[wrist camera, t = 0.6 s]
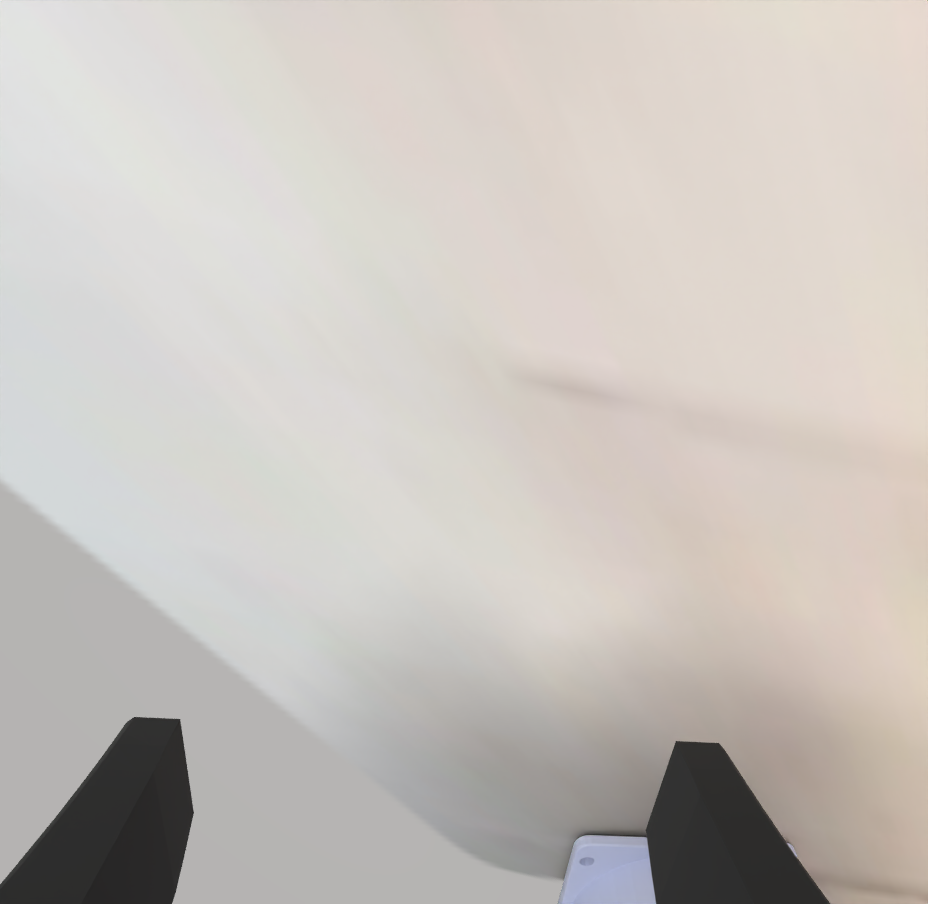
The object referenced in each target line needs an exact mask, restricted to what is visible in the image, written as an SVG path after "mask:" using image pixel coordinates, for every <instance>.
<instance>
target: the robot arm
mask: <svg viewBox="0 0 928 904" xmlns="http://www.w3.org/2000/svg"><path fill="white" fill-rule="evenodd" d="M193 814H194V812H193V805H192V798H191V791H190V785H189V777H188V771H187V764H186V757H185V750H184V743H183V736H182V730H181V724H180V719H165V718H163V719H162V718H142V717H134V718H132V719H131V720H129V721H128V722H127V723H126V724H125V725H124V727H123V728H122V730H121V731H120V733H119V734H118V735H117V737H116V738H115V740H114V741H113V742H112V744H111V745H110V746H109V748H108V749H107V751H106V752H105V753H104V755H103V756H102V758H101V759H100V760H99V762H98V763H97V764H96V766H95V767H94V768H93V770H92V771H91V772H90V774H89V775H88V776H87V778H86V779H85V780H84V782H83V783H82V784H81V785H80V787H79V788H78V789H77V791H76V792H75V793H74V794H73V796H72V797H71V798H70V800H69V801H68V802H67V804H66V805H65V806H64V807H63V809H62V810H61V811H60V812H59V814H58V815H57V816H56V818H55V819H54V820H53V821H52V823H51V824H50V825H49V826H48V827H47V829H46V830H45V831H44V832H43V833H42V835H41V836H40V837H39V838H38V840H37V841H36V842H35V843H34V844H33V846H32V847H31V848H30V849H29V851H28V852H27V853H26V854H25V855H24V857H23V858H22V859H21V860H20V861H19V863H18V864H17V865H16V867H15V868H14V869H13V870H12V871H11V872H10V874H9V875H8V876H7V877H6V879H5V880H4V881H3V882H2V883H1V884H0V904H172V902H173V899H174V895H175V893H176V888H177V884H178V879H179V875H180V871H181V867H182V863H183V859H184V854H185V850H186V845H187V841H188V836H189V832H190V827H191V822H192V818H193ZM646 835H647V837H630V836H603V835H584V836H581V837H579V838H578V839H577V840H576V841H575V842H574V845H573V849H572V852H571V856H570V860H569V863H568V867H567V871H566V875H565V878H564V882H563V886H562V890H561V894H560V898H559V901H558V904H830V903H829V901H828V900H827V899H826V897H825V896H824V894H823V893H822V892H821V890H820V889H819V888H818V886H817V885H816V883H815V882H814V881H813V879H812V878H811V877H810V875H809V874H808V873H807V871H806V870H805V868H804V867H803V866H802V864H801V863H800V861H799V860H798V859H797V854H796V851H795V849H794V847H793V845H791V844H789V843H786V841H785V840H784V838H783V837H782V836H781V834H780V833H779V831H778V830H777V828H776V827H775V825H774V824H773V822H772V821H771V819H770V818H769V816H768V815H767V814H766V812H765V811H764V809H763V808H762V806H761V805H760V803H759V802H758V800H757V799H756V797H755V796H754V794H753V793H752V791H751V789H750V788H749V786H748V785H747V783H746V782H745V780H744V779H743V777H742V776H741V774H740V773H739V771H738V770H737V768H736V767H735V765H734V764H733V762H732V760H731V759H730V757H729V756H728V754H727V753H726V751H725V750H724V748H723V747H722V746H721V745H720V744H719V743H703V742H680V741H676V743H675V746H674V749H673V752H672V755H671V758H670V760H669V763H668V766H667V769H666V772H665V775H664V778H663V781H662V784H661V787H660V790H659V793H658V796H657V799H656V802H655V805H654V807H653V810H652V813H651V816H650V819H649V822H648V825H647V828H646Z"/></svg>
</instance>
